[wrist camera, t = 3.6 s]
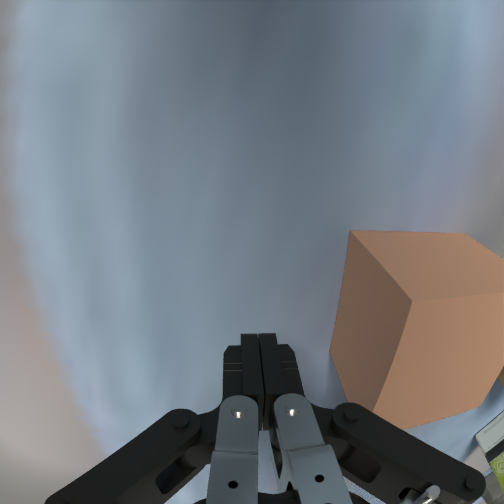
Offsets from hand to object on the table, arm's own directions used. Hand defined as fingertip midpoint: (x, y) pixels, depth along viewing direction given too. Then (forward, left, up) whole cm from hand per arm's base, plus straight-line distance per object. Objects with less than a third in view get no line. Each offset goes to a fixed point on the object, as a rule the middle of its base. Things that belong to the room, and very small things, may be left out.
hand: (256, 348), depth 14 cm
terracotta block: (0, +9, -4) cm, 10 cm away
